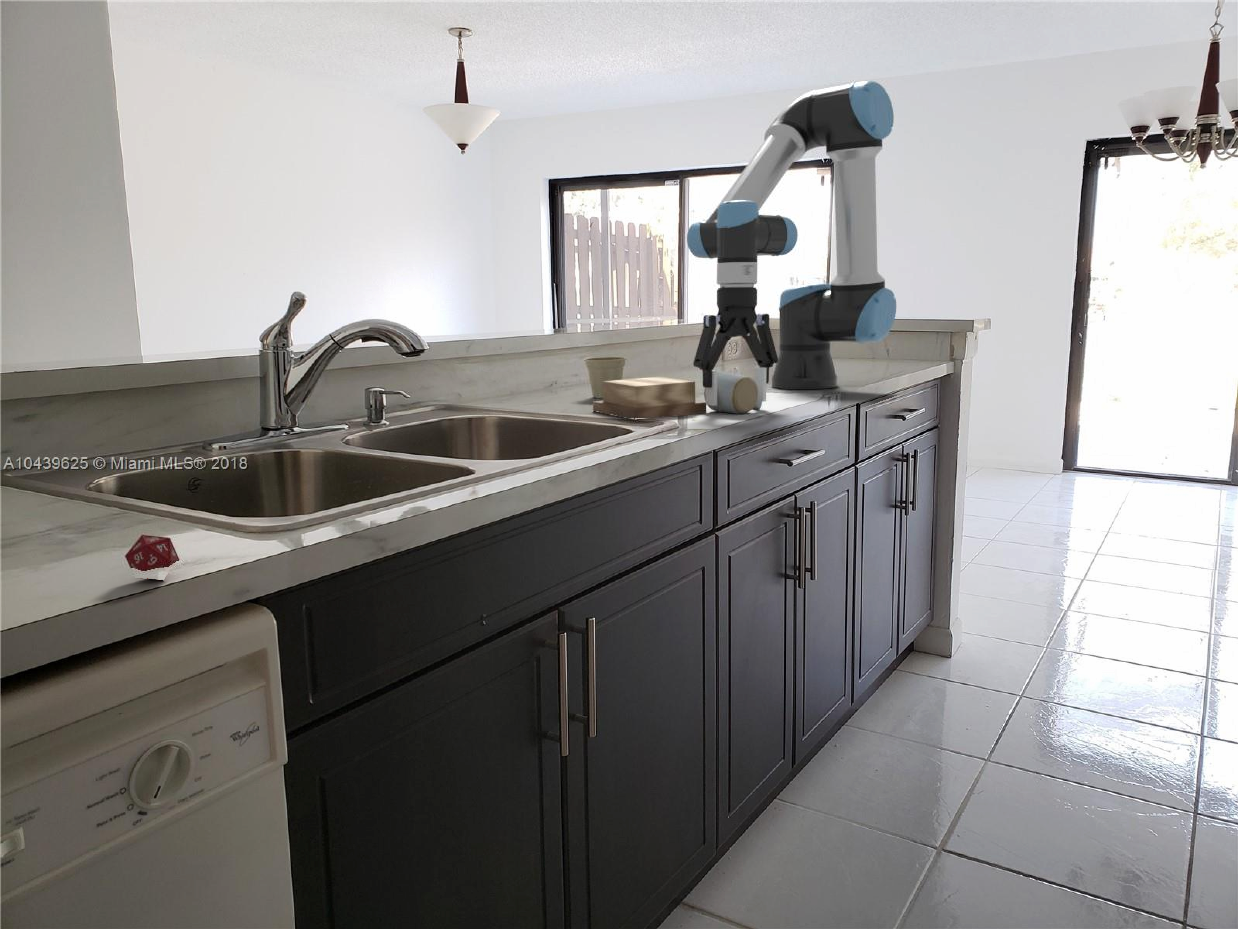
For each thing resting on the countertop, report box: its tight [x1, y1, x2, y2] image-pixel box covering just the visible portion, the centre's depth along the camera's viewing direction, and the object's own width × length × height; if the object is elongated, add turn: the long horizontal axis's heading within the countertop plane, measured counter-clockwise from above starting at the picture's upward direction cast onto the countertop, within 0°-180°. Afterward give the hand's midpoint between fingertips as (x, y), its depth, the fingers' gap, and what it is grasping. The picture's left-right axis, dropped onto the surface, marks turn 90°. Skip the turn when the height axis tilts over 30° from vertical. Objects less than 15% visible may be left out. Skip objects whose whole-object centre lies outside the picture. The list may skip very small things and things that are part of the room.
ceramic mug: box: [703, 370, 763, 415], centre depth 179 cm, size 11×8×8 cm
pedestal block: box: [602, 376, 696, 408], centre depth 182 cm, size 13×13×4 cm
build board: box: [592, 400, 707, 419], centre depth 182 cm, size 16×16×2 cm
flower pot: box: [583, 356, 627, 399], centre depth 208 cm, size 9×9×9 cm
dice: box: [124, 534, 180, 571], centre depth 82 cm, size 4×4×4 cm
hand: (736, 402), depth 180 cm, fingers closed on ceramic mug, 11 cm apart
